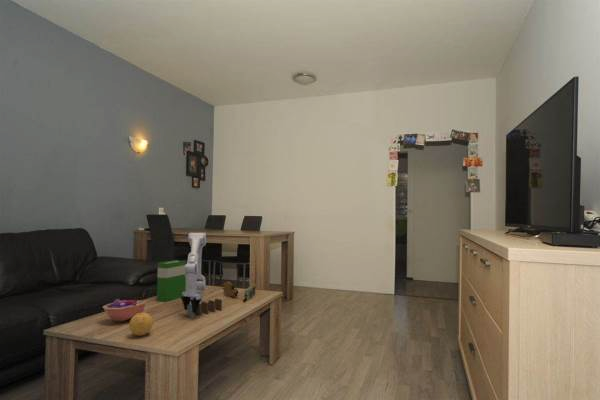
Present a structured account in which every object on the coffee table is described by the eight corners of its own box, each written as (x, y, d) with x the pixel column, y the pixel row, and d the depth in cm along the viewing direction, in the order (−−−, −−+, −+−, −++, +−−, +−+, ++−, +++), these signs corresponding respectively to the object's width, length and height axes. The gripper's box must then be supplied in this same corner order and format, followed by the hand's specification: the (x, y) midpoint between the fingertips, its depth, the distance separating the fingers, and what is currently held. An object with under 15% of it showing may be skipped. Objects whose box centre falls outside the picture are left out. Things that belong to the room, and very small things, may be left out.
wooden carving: (240, 298, 230) (240, 282, 231) (235, 299, 227) (235, 283, 227) (225, 294, 241) (225, 279, 242) (219, 295, 238) (220, 280, 238)
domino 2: (199, 315, 189) (199, 304, 190) (194, 314, 193) (194, 303, 193) (201, 315, 190) (201, 304, 190) (196, 313, 193) (196, 302, 194)
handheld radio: (256, 294, 243) (246, 303, 218) (251, 294, 244) (241, 303, 219) (255, 284, 244) (246, 292, 219) (251, 284, 244) (241, 292, 219)
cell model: (150, 320, 181) (150, 298, 182) (107, 328, 168) (107, 304, 169) (139, 313, 194) (140, 292, 195) (99, 320, 181) (99, 297, 182)
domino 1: (192, 317, 186) (192, 306, 186) (186, 315, 189) (187, 304, 189) (194, 317, 187) (194, 305, 187) (188, 315, 190) (189, 304, 190)
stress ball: (141, 330, 165) (141, 308, 165) (157, 333, 161) (158, 311, 162) (123, 337, 156) (124, 314, 156) (140, 340, 152) (141, 316, 153)
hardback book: (176, 295, 237) (177, 259, 238) (185, 296, 234) (185, 260, 236) (156, 301, 221) (157, 263, 222) (166, 302, 218) (166, 263, 219)
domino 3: (206, 314, 193) (206, 303, 193) (201, 312, 196) (201, 301, 196) (208, 313, 194) (208, 302, 194) (203, 312, 197) (203, 301, 197)
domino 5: (220, 310, 200) (220, 300, 200) (214, 309, 203) (214, 298, 203) (221, 310, 200) (221, 299, 201) (216, 308, 204) (216, 298, 204)
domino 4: (213, 312, 196) (213, 301, 196) (208, 310, 199) (208, 300, 200) (215, 312, 197) (215, 301, 197) (209, 310, 200) (210, 299, 201)
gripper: (177, 284, 190) (176, 310, 190) (192, 288, 181) (191, 315, 180) (188, 282, 196) (188, 307, 195) (203, 286, 186) (203, 312, 186)
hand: (190, 311), depth 188 cm, fingers open, 7 cm apart
